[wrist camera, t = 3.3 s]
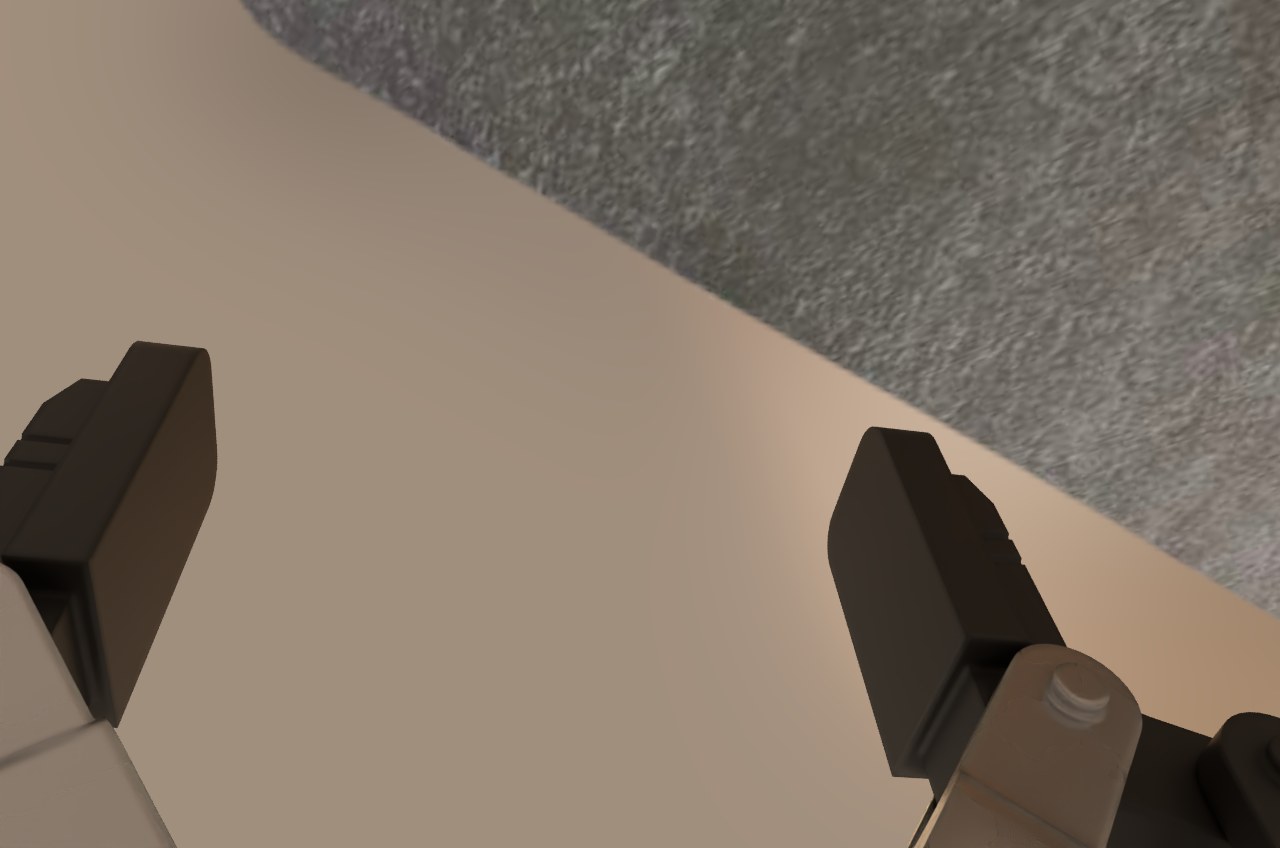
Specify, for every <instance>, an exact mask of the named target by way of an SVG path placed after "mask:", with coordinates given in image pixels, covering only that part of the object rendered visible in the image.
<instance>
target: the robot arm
mask: <svg viewBox="0 0 1280 848" xmlns="http://www.w3.org/2000/svg"><path fill="white" fill-rule="evenodd" d="M214 415H215V414H214V400H213V386H212V373H211V362H210V357H209V354H208V352H207V350H206V349H204V348H195V347H187V346H178V345H169V344H160V343H151V342H143V341H137V342H135V343H133V344H132V346H131V347H130V348H129V350H128V352H127V353H126V355H125V357H124V358H123V360H122V361H121V363H120V365H119V366H118V368H117V369H116V371H115V372H114V374H113V376H112V377H111V379H110V380H109V381H100V380H90V379H80V380H78V381H77V382H75V383H74V384H72V385H71V386H69V387H68V388H66V389H64V390H63V391H61V392H60V393H58V394H57V395H55V396H54V397H52V398H51V399H49V400H47V401H46V402H44V403H43V404H42V406H41V407H40V408H39V410H38V411H37V413H36V414H35V416H34V417H33V419H32V420H31V421H30V423H29V424H28V426H27V427H26V429H25V430H24V431H23V433H22V439H21V440H17V442H16V443H15V444H14V446H13V447H12V449H11V450H10V452H9V453H8V455H7V456H6V458H5V459H4V465H3V466H0V848H177V847H176V845H175V843H174V841H173V839H172V837H171V835H170V834H169V832H168V830H167V828H166V826H165V824H164V822H163V820H162V818H161V817H160V815H159V813H158V811H157V809H156V807H155V805H154V803H153V801H152V800H151V798H150V796H149V794H148V792H147V790H146V788H145V786H144V784H143V782H142V780H141V779H140V777H139V775H138V773H137V771H136V769H135V767H134V765H133V764H132V761H131V760H130V758H129V756H128V754H127V752H126V750H125V748H124V746H123V744H122V743H121V741H120V739H119V737H118V735H117V733H116V732H115V730H114V728H118V725H119V723H120V721H121V718H122V716H123V713H124V711H125V709H126V706H127V703H128V701H129V699H130V696H131V694H132V692H133V689H134V687H135V684H136V682H137V679H138V677H139V675H140V672H141V670H142V667H143V665H144V663H145V660H146V658H147V655H148V653H149V650H150V648H151V645H152V643H153V641H154V638H155V636H156V633H157V631H158V629H159V626H160V624H161V621H162V619H163V617H164V614H165V612H166V609H167V607H168V604H169V602H170V600H171V597H172V595H173V592H174V590H175V587H176V585H177V583H178V580H179V578H180V575H181V573H182V571H183V568H184V566H185V563H186V561H187V558H188V556H189V554H190V551H191V549H192V546H193V544H194V542H195V539H196V537H197V534H198V532H199V529H200V527H201V525H202V522H203V520H204V517H205V515H206V513H207V510H208V507H209V505H210V502H211V499H212V495H213V491H214V486H215V479H216V471H217V444H216V429H215V416H214ZM1008 536H1009V533H1008V531H1007V529H1006V527H1005V525H1004V523H1003V521H1002V519H1001V517H1000V516H999V513H998V511H997V509H996V508H995V506H994V504H993V503H992V502H991V501H990V500H989V499H988V498H987V497H986V496H985V495H984V494H983V493H982V492H981V491H980V490H979V489H978V488H977V487H976V486H975V485H974V484H973V483H972V482H971V481H970V480H969V479H968V478H967V477H966V476H964V475H955V474H951V472H950V470H949V468H948V466H947V464H946V462H945V460H944V457H943V455H942V453H941V451H940V449H939V447H938V445H937V443H936V441H935V439H934V437H933V436H932V435H931V434H929V433H926V432H917V431H908V430H900V429H891V428H881V427H870V428H869V429H868V430H867V431H866V432H865V433H864V435H863V437H862V439H861V441H860V444H859V446H858V449H857V452H856V454H855V457H854V459H853V462H852V465H851V467H850V470H849V473H848V475H847V478H846V480H845V483H844V486H843V488H842V491H841V493H840V496H839V499H838V501H837V504H836V507H835V509H834V512H833V515H832V518H831V521H830V526H829V532H828V559H829V564H830V568H831V572H832V575H833V578H834V582H835V585H836V588H837V592H838V595H839V599H840V602H841V605H842V609H843V612H844V615H845V619H846V622H847V626H848V628H849V632H850V636H851V639H852V642H853V645H854V649H855V652H856V656H857V659H858V663H859V666H860V669H861V672H862V676H863V679H864V683H865V686H866V689H867V693H868V696H869V700H870V703H871V706H872V709H873V713H874V716H875V720H876V723H877V726H878V730H879V733H880V736H881V740H882V743H883V746H884V750H885V753H886V757H887V760H888V763H889V767H890V770H891V774H892V776H893V777H908V778H925V779H929V781H930V785H931V787H932V791H933V793H934V796H933V798H932V800H931V801H930V803H929V805H928V807H927V808H926V810H925V812H924V814H923V816H922V818H921V820H920V822H919V824H918V826H917V828H916V830H915V831H914V833H913V836H912V838H911V839H910V842H909V843H908V845H907V847H906V848H1280V718H1278V717H1275V716H1271V715H1268V714H1263V713H1255V712H1254V713H1253V712H1246V713H1239V714H1237V715H1234V716H1232V717H1231V718H1229V719H1228V720H1227V721H1226V722H1225V723H1224V725H1223V726H1222V727H1221V728H1220V730H1219V731H1218V732H1217V733H1216V735H1215V736H1214V737H1213V738H1211V737H1208V736H1205V735H1202V734H1199V733H1196V732H1193V731H1190V730H1187V729H1184V728H1181V727H1178V726H1175V725H1172V724H1169V723H1166V722H1163V721H1161V720H1158V719H1155V718H1152V717H1149V716H1146V715H1144V714H1141V712H1140V708H1139V706H1138V703H1137V701H1136V700H1135V698H1134V696H1133V695H1132V693H1131V692H1130V690H1129V689H1128V687H1127V686H1126V685H1125V684H1124V683H1123V682H1122V681H1121V680H1120V678H1118V677H1117V676H1116V675H1115V674H1114V673H1113V672H1112V671H1111V670H1109V669H1108V668H1107V667H1105V666H1104V665H1103V664H1101V663H1100V662H1098V661H1096V660H1095V659H1093V658H1091V657H1090V656H1087V655H1085V654H1083V653H1081V652H1079V651H1076V650H1073V649H1071V648H1068V647H1067V646H1066V644H1065V642H1064V640H1063V638H1062V637H1061V634H1060V632H1059V631H1058V628H1057V627H1056V625H1055V623H1054V621H1053V619H1052V617H1051V615H1050V613H1049V611H1048V609H1047V607H1046V605H1045V603H1044V601H1043V599H1042V597H1041V595H1040V593H1039V592H1038V590H1037V588H1036V586H1035V584H1034V582H1033V580H1032V578H1031V576H1030V574H1029V572H1028V570H1027V568H1026V566H1025V565H1022V564H1021V556H1020V555H1019V552H1018V550H1017V549H1016V547H1015V545H1014V543H1013V541H1012V540H1009V539H1008Z"/></svg>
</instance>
